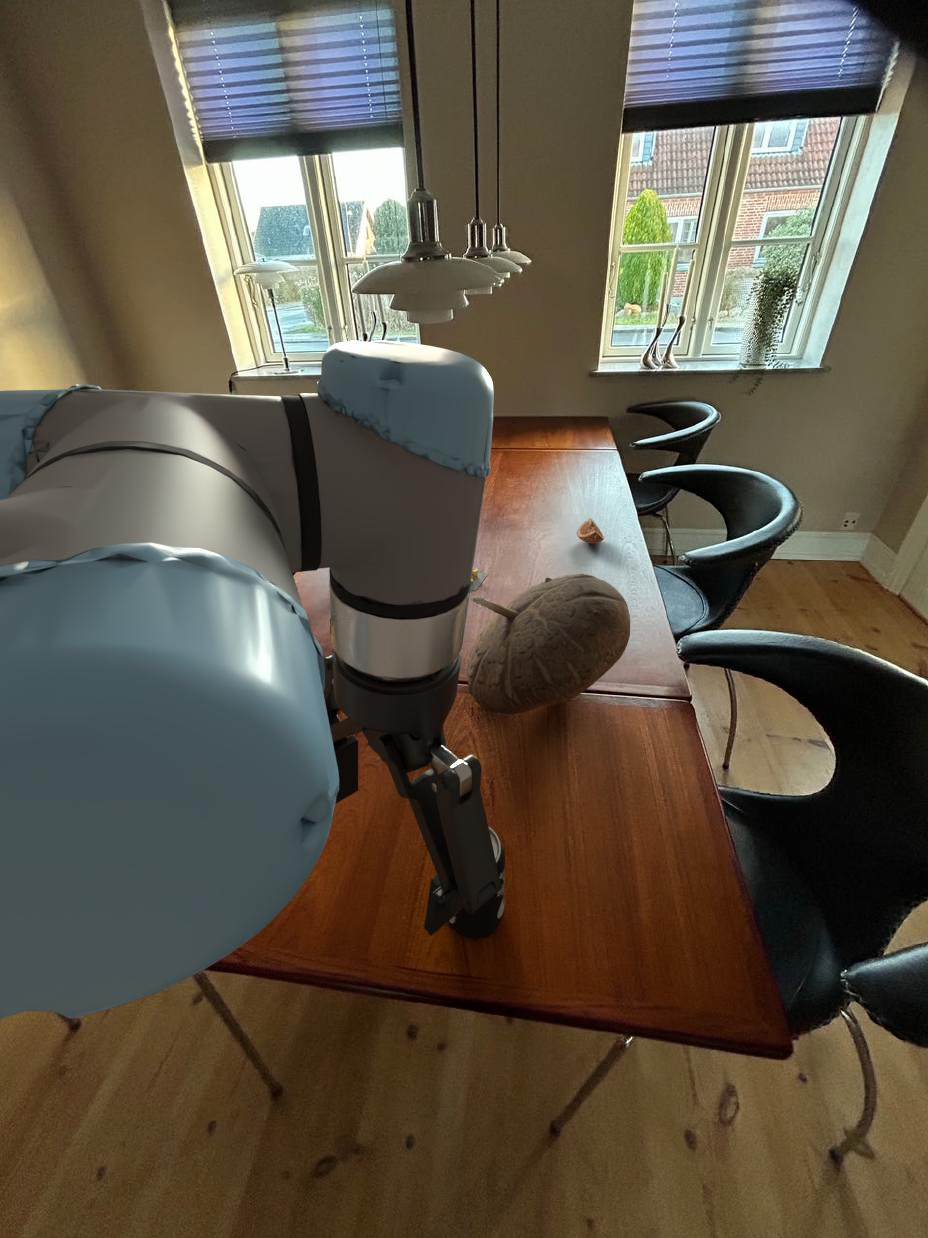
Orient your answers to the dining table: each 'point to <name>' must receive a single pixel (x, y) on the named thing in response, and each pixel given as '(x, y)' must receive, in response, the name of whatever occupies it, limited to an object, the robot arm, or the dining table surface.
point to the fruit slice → (590, 532)
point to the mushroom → (547, 644)
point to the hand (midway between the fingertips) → (387, 852)
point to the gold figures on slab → (477, 579)
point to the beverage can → (484, 905)
